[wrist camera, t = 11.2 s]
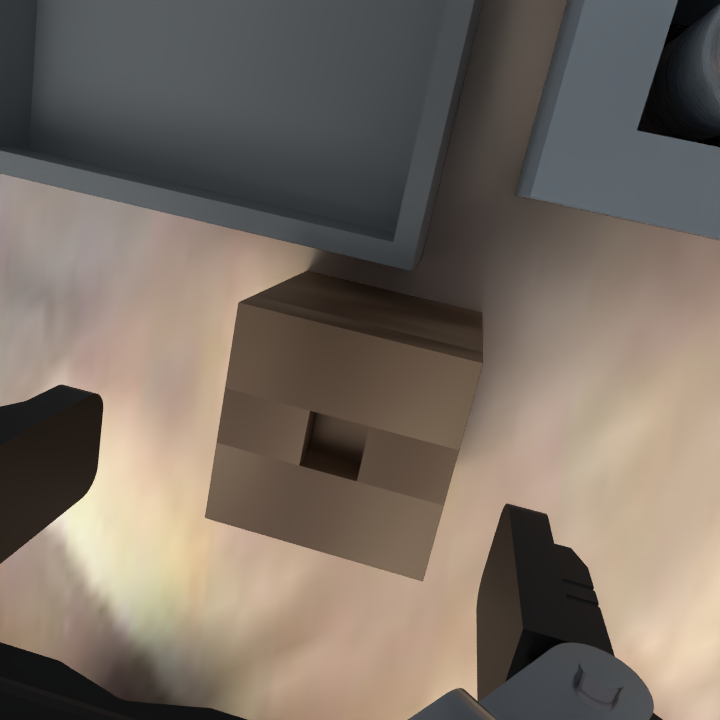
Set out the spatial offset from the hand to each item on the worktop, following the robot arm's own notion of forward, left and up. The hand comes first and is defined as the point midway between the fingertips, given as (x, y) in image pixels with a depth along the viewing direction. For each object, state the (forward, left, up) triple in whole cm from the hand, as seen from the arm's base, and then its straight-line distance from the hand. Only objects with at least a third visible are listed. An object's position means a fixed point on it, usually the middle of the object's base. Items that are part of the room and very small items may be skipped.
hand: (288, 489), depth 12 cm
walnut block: (0, 0, -9) cm, 9 cm away
